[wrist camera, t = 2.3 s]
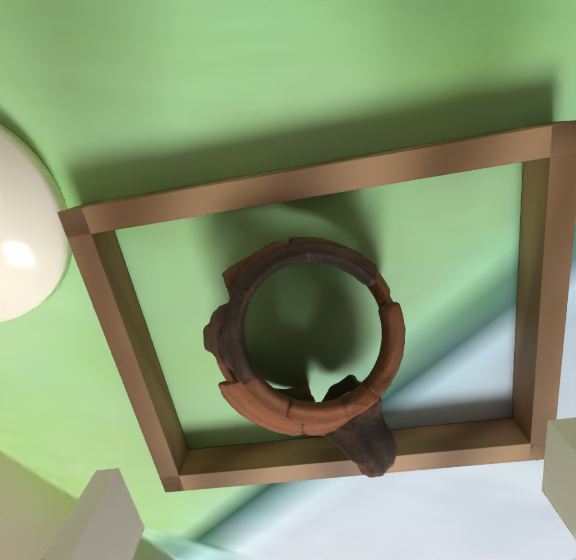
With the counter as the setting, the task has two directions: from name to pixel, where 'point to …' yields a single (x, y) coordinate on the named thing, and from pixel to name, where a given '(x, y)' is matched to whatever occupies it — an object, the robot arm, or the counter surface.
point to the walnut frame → (327, 180)
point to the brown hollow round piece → (298, 401)
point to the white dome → (28, 229)
